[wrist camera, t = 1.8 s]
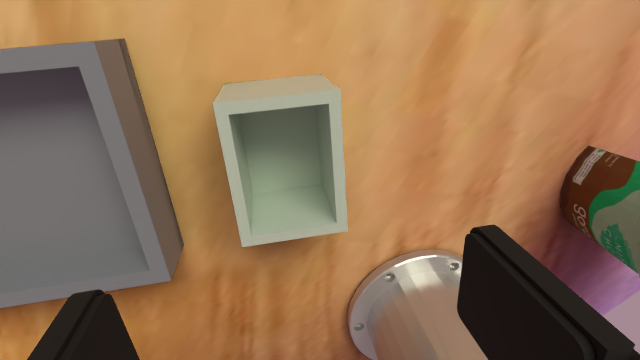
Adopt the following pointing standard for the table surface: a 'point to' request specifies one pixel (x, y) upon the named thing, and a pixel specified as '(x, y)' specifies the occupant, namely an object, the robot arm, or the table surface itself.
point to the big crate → (79, 176)
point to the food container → (605, 202)
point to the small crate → (283, 157)
